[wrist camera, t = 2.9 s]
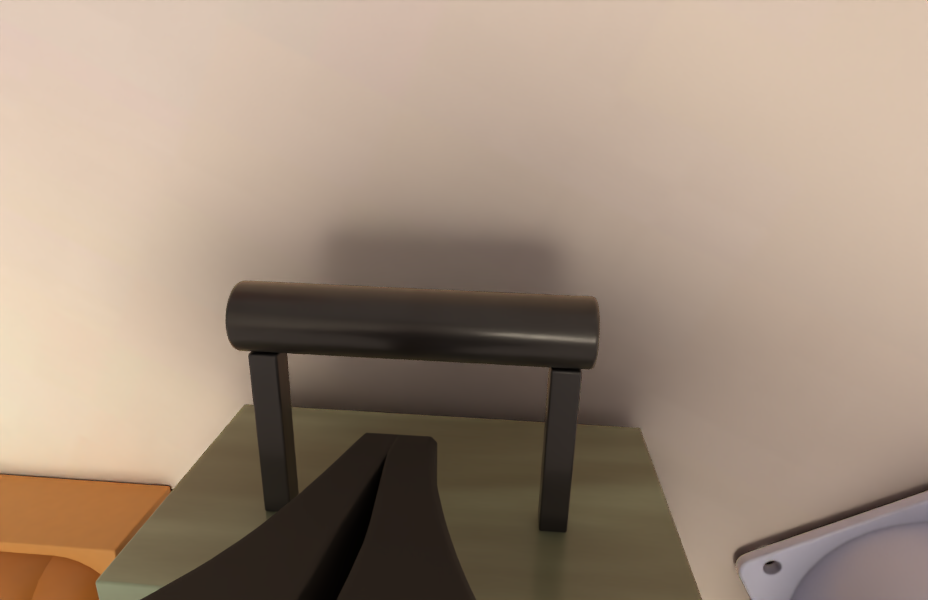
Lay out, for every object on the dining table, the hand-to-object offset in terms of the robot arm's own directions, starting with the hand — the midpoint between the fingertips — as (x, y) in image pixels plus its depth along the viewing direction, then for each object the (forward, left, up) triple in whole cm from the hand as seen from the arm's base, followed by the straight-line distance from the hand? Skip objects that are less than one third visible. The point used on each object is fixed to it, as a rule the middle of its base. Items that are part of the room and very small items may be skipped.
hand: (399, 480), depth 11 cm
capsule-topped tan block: (+15, +1, -7) cm, 16 cm away
